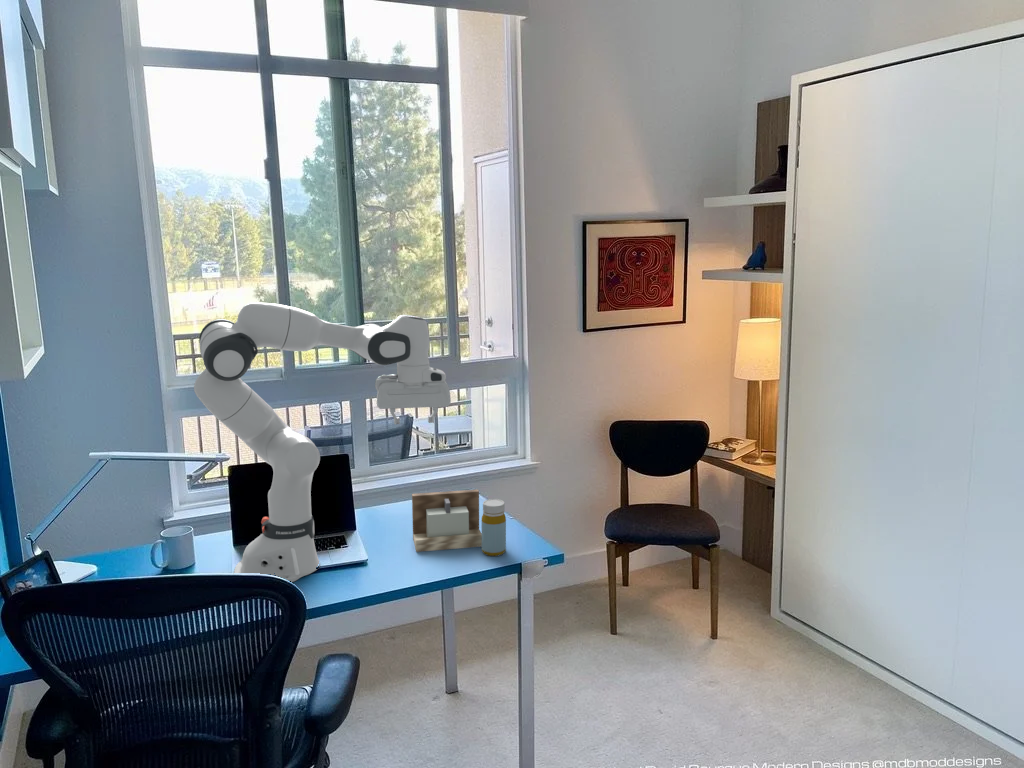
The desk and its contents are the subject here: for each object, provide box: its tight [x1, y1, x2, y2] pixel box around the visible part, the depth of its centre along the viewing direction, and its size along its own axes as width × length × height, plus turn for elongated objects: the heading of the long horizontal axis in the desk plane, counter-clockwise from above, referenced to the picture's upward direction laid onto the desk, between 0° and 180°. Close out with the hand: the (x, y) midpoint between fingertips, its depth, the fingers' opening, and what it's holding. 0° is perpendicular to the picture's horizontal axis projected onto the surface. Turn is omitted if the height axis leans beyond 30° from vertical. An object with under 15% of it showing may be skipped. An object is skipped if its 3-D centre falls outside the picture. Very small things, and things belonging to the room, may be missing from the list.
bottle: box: [480, 498, 507, 557], centre depth 218 cm, size 7×7×15 cm
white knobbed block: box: [426, 499, 469, 538], centre depth 224 cm, size 12×5×11 cm, turn 102°
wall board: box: [411, 488, 482, 553], centre depth 225 cm, size 20×10×14 cm, turn 102°
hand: (414, 423), depth 210 cm, fingers open, 8 cm apart
